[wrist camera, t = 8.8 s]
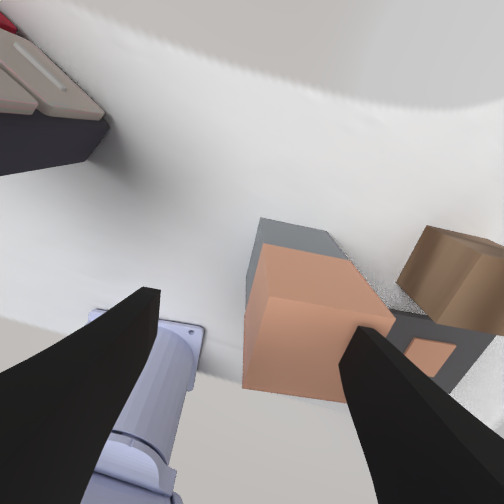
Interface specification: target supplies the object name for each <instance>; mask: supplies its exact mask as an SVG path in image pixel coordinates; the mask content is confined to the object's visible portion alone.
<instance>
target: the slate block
mask: <svg viewBox="0 0 504 504" xmlns="http://www.w3.org/2000/svg"><path fill="white" fill-rule="evenodd" d="M263 243H265V244H270V245H275V246H280V247H285V248H290V249H295V250H300V251H305V252H310V253H315V254H320V255H325V256H330V257H335V258H340V259H345V260H349V259H348V258H347V257H346V255H345V254H344V253H343V251H342V250H341V249H340V248H339V246H338V245H337V244H336V243H335V241H334V240H333V239H332V237H331V236H330V235H329V234H328V232H327V231H323V230H318V229H313V228H309V227H304V226H299V225H294V224H290V223H285V222H280V221H275V220H270V219H266V218H261V217H260V221H259V225H258V230H257V234H256V238H255V242H254V246H253V250H252V254H251V259H250V263H249V267H248V271H247V275H246V305H245V312H246V308H247V304H248V300H249V296H250V292H251V288H252V284H253V280H254V277H255V273H256V269H257V265H258V261H259V257H260V253H261V249H262V245H263Z"/></svg>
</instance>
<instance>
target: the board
mask: <svg viewBox="0 0 504 504" xmlns="http://www.w3.org/2000/svg"><path fill="white" fill-rule="evenodd" d="M389 311H390V312H391V313H392V314H393V316H394V317H395V318H396V320H395V322H394V324H393V325H392V327H391V329H390V331H389V333H388V334H387V336H386V339H387V340H388V341H389V342H391V343H392V344H393V345H394V346H395V347H396V348H397V349H398V350H399V351H401V352H402V353H403V354H404V355H405V356H406V357H407V358H408V359H409V360H410V361H411V362H413V363H414V364H415V365H416V366H417V367H418V368H419V369H420V370H421V371H422V372H424V373H425V374H426V375H427V376H428V377H429V378H430V379H431V380H432V381H434V382H435V383H436V384H437V385H438V386H439V387H440V388H442V389H443V390H444V391H445V392H446V393H449V394H450V393H451V391H452V390H453V389H454V388H455V386H456V385H457V384H458V383H459V381H460V380H461V379H462V378H463V376H464V375H465V374H466V373H467V371H468V370H469V369H470V368H471V366H472V365H473V364H474V363H475V361H476V360H477V359H478V358H479V356H480V355H481V354H482V353H483V351H484V350H485V349H486V348H487V346H488V345H489V344H490V343H491V341H492V340H493V339H494V338H495V336H496V335H495V334H489V333H484V332H479V331H473V330H468V329H463V328H457V327H452V326H446V325H441V324H436V323H435V322H434V321H433V320H432V319H431V318H430V317H429V316H425V315H420V314H414V313H409V312H403V311H398V310H393V309H389Z"/></svg>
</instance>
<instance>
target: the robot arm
mask: <svg viewBox="0 0 504 504" xmlns="http://www.w3.org/2000/svg"><path fill="white" fill-rule="evenodd" d="M160 294H161V290H159V289H153V288H148V287H141V288H140V289H138V290H137V291H135V292H134V293H133V294H131V295H130V296H128V297H127V298H125V299H124V300H123V301H121V302H120V303H118V304H117V305H115V306H114V307H112V308H111V309H110V310H108V311H103V310H97V309H94V310H92V311H91V312H90V313H89V315H88V319H89V322H88V323H87V324H86V325H85V326H84V327H82V328H80V329H79V330H77V331H75V332H74V333H72V334H70V335H69V336H67V337H65V338H64V339H62V340H61V341H59V342H57V343H56V344H54V345H52V346H50V347H49V348H47V349H45V350H43V351H41V352H40V353H38V354H36V355H34V356H32V357H30V358H29V359H27V360H25V361H23V362H21V363H19V364H17V365H15V366H13V367H11V368H9V369H7V370H5V371H3V372H1V373H0V504H183V502H182V499H181V497H180V496H179V495H178V494H177V493H175V492H173V488H174V483H175V478H176V474H177V471H176V470H175V469H172V468H170V467H169V466H168V465H169V460H170V456H171V452H172V448H173V444H174V440H175V436H176V432H177V428H178V423H179V419H180V415H181V411H182V407H183V403H184V399H185V395H186V391H191V390H193V387H194V382H195V376H196V371H197V365H198V360H199V354H200V349H201V343H202V338H203V332H204V330H203V328H202V327H200V326H194V325H188V324H182V323H176V322H170V321H164V320H158V319H159V307H160ZM190 330H193V331H194V332H191V331H190ZM338 366H339V372H340V377H341V382H342V387H343V391H344V395H345V398H346V401H347V404H348V407H349V410H350V414H351V417H352V419H353V422H354V425H355V428H356V431H357V434H358V437H359V440H360V443H361V446H362V449H363V452H364V455H365V458H366V461H367V464H368V467H369V471H370V474H371V477H372V480H373V484H374V488H375V492H376V496H377V500H378V504H504V439H503V438H502V437H500V436H499V435H498V434H496V433H495V432H494V431H492V430H491V429H490V428H489V427H487V426H486V425H485V424H483V423H482V422H481V421H480V420H478V419H477V418H476V417H475V416H473V415H472V414H471V413H470V412H469V411H467V410H466V409H465V408H464V407H463V406H461V405H460V404H459V403H458V402H457V401H456V400H454V399H453V398H452V397H451V396H450V395H448V394H447V393H446V392H445V391H444V390H443V389H442V388H440V387H439V386H438V385H437V384H436V383H435V382H434V381H432V380H431V379H430V378H429V377H428V376H427V375H426V374H425V373H424V372H422V371H421V370H420V369H419V368H418V367H417V366H416V365H415V364H414V363H413V362H411V361H410V360H409V359H408V358H407V357H406V356H405V355H404V354H403V353H402V352H401V351H399V350H398V349H397V348H396V347H395V346H394V345H393V344H392V343H391V342H389V341H388V340H387V339H386V338H385V337H384V336H383V335H381V334H380V333H379V332H378V331H376V330H375V329H374V328H369V327H364V326H358V327H357V329H356V331H355V333H354V334H353V336H352V338H351V340H350V342H349V344H348V346H347V348H346V350H345V352H344V354H343V356H342V358H341V360H340V362H339V363H338Z"/></svg>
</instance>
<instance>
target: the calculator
mask: <svg viewBox="0 0 504 504" xmlns="http://www.w3.org/2000/svg"><path fill="white" fill-rule="evenodd" d="M16 31H17V28H16V27H15V26H14V25H13V24H12V23H11V22H10V21H9V20H8V19H7V18H6V17H5V16H4V15H3V14H2V13H1V12H0V176H4V175H10V174H15V173H21V172H27V171H33V170H39V169H44V168H50V167H56V166H62V165H68V164H73V163H79V162H84V161H85V160H86V159H87V158H88V156H89V155H90V154H91V153H92V151H93V150H94V149H95V147H96V146H97V145H98V143H99V142H100V141H101V139H102V138H103V137H104V135H105V134H106V132H107V131H108V130H109V125H108V124H107V123H106V122H105V121H104V120H103V119H102V117H103V115H104V114H105V112H104V111H103V110H102V109H101V108H100V107H99V106H98V105H97V104H96V103H95V102H94V101H93V100H92V99H91V98H90V97H89V96H88V95H87V94H86V93H85V92H84V91H83V90H81V89H80V88H79V87H78V86H77V85H76V84H75V83H74V82H73V81H72V80H71V79H70V78H69V77H68V76H67V75H66V74H65V73H64V72H63V71H62V70H61V69H60V68H58V67H57V66H56V65H55V64H54V63H53V62H52V61H51V60H50V59H49V58H48V57H47V56H46V55H45V54H44V53H43V52H42V51H41V50H40V49H39V48H38V47H36V46H35V45H34V44H33V43H32V42H30V41H29V40H27V39H25V38H22V37H20V36H17V35H15V33H16Z"/></svg>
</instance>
